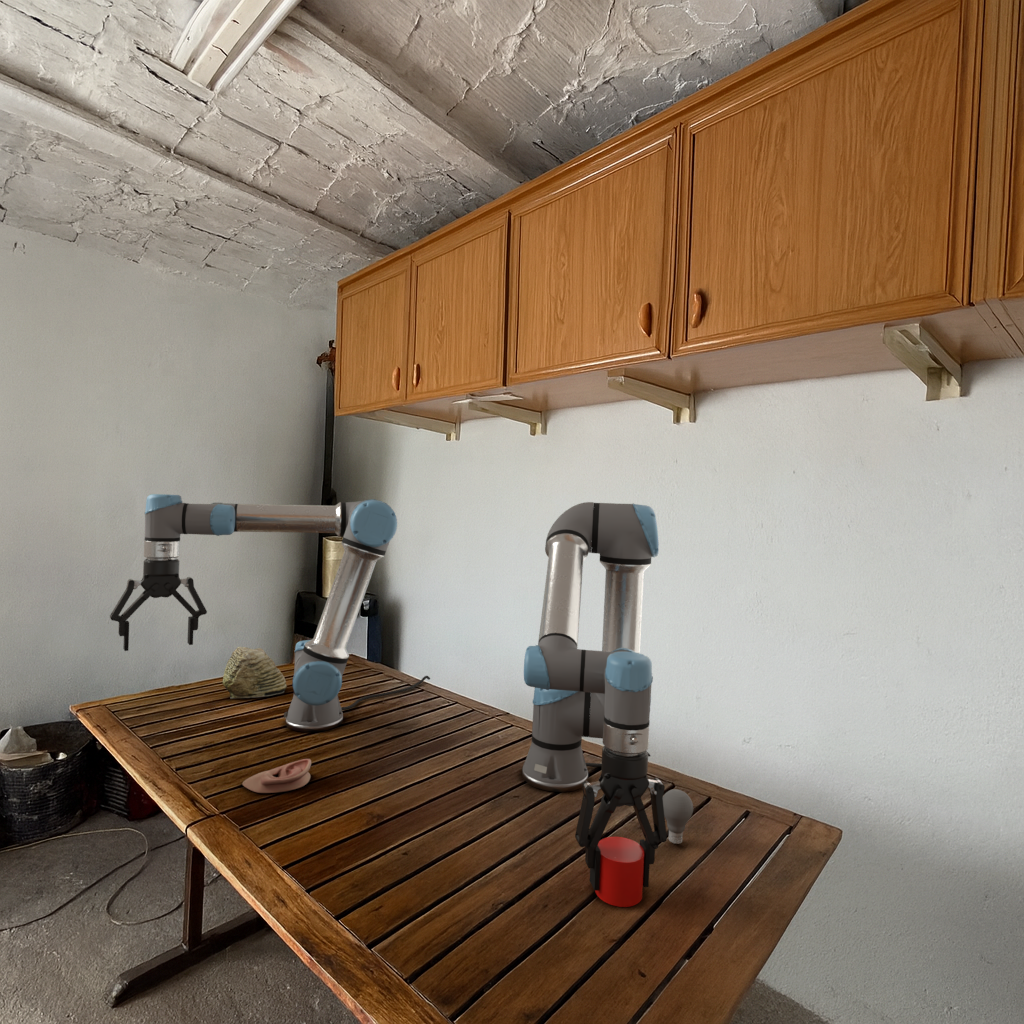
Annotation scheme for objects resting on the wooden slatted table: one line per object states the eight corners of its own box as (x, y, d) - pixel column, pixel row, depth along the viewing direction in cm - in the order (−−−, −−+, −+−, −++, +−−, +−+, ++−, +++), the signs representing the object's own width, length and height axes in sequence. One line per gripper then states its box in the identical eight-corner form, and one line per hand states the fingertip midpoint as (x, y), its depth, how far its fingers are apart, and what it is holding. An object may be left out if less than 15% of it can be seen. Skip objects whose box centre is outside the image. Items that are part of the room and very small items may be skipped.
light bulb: (655, 834, 124) (657, 783, 124) (684, 834, 125) (687, 783, 124) (665, 851, 118) (667, 798, 118) (696, 851, 119) (698, 798, 118)
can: (626, 913, 100) (629, 868, 100) (585, 892, 105) (587, 848, 105) (651, 891, 106) (653, 849, 106) (610, 872, 111) (612, 831, 111)
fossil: (218, 695, 195) (220, 647, 195) (278, 685, 208) (279, 640, 207) (228, 703, 189) (230, 653, 188) (289, 692, 201) (290, 645, 201)
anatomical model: (234, 771, 135) (265, 750, 146) (233, 789, 135) (265, 767, 146) (290, 779, 132) (318, 757, 143) (290, 798, 132) (317, 775, 143)
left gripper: (101, 561, 141) (98, 655, 142) (221, 558, 156) (218, 644, 157) (98, 557, 147) (95, 648, 148) (214, 556, 162) (211, 638, 163)
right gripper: (571, 759, 99) (564, 902, 100) (693, 755, 103) (687, 893, 104) (559, 740, 107) (552, 874, 107) (674, 738, 110) (667, 867, 111)
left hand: (158, 646), depth 152 cm, fingers open, 13 cm apart
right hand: (618, 883), depth 105 cm, fingers closed on can, 8 cm apart
